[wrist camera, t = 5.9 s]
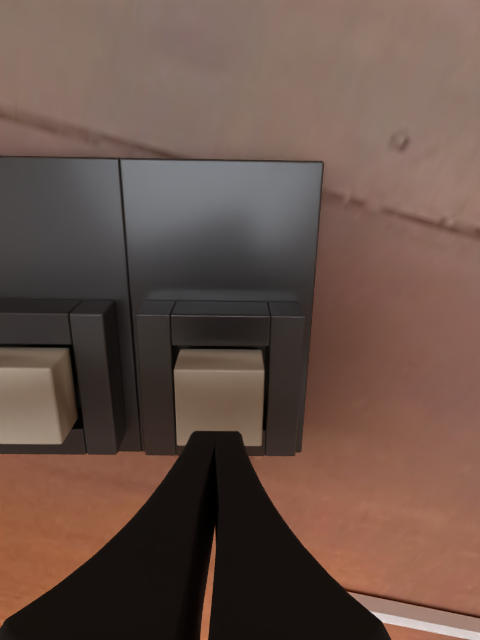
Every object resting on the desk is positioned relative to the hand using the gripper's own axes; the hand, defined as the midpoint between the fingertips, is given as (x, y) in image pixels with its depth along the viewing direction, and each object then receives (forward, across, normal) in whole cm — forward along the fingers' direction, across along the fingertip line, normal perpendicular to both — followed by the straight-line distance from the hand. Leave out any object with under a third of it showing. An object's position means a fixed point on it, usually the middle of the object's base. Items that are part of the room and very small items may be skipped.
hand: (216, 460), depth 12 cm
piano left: (+8, +7, -2) cm, 11 cm away
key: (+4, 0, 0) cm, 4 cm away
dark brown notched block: (+8, 0, -2) cm, 8 cm away
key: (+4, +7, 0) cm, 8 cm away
